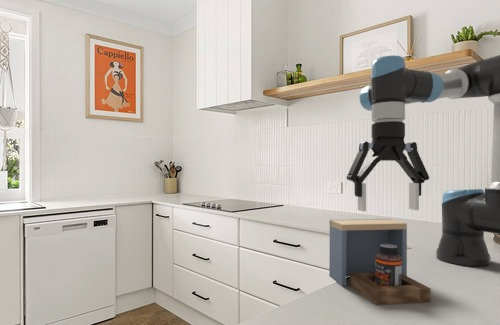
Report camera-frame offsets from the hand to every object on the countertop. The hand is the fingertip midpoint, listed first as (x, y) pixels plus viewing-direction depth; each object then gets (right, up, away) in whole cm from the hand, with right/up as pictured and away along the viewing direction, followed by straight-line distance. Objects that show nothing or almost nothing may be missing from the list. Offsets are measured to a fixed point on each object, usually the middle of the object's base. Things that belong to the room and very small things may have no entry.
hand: (388, 210), depth 83 cm
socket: (0, -20, 0) cm, 20 cm away
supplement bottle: (0, -20, 0) cm, 20 cm away
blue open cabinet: (-2, -20, +10) cm, 22 cm away
